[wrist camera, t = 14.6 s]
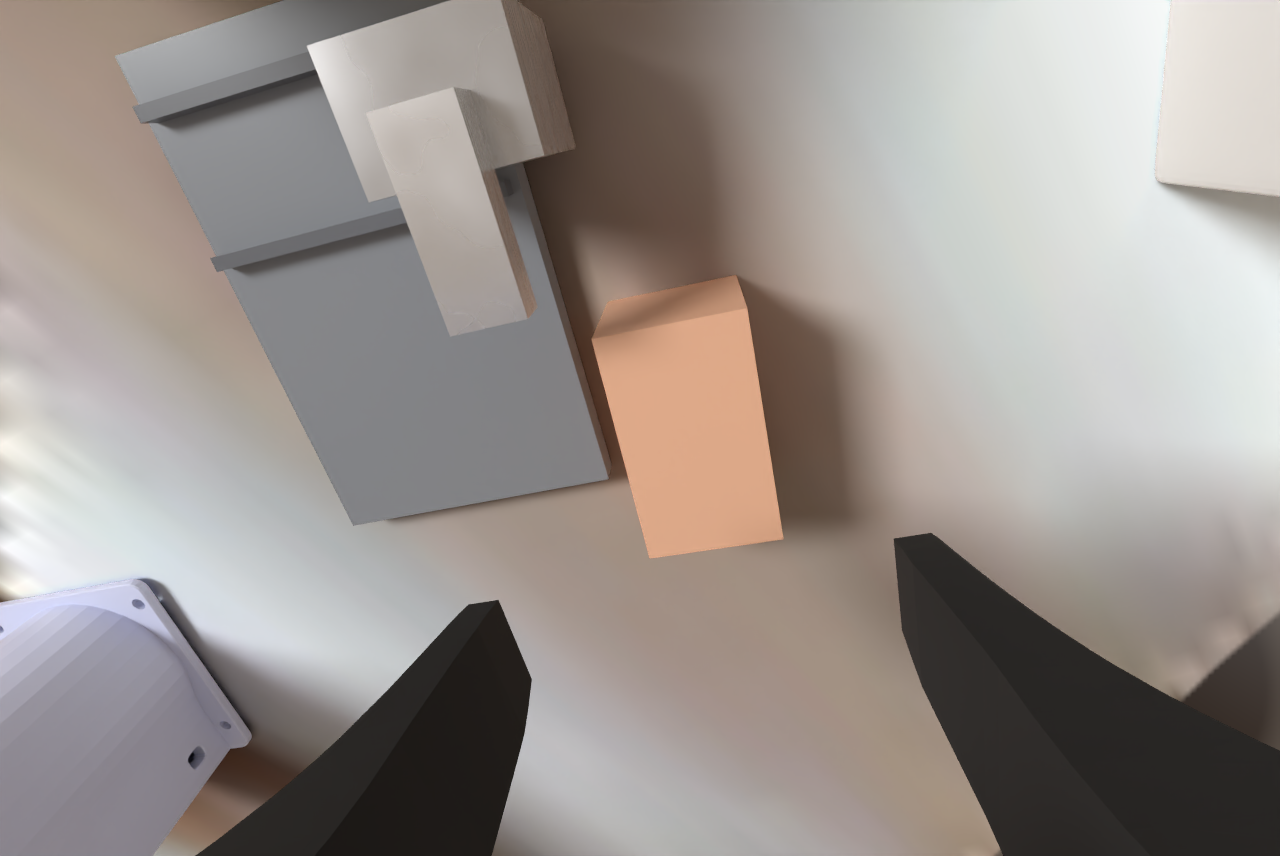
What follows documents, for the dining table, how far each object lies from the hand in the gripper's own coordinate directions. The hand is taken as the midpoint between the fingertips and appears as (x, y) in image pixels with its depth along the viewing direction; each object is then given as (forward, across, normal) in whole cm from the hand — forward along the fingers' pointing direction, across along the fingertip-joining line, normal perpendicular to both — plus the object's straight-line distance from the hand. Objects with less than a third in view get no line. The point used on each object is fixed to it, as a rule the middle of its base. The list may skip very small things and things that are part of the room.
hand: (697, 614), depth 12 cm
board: (+10, +8, -6) cm, 14 cm away
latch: (+9, +4, -8) cm, 13 cm away
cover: (+11, 0, 0) cm, 11 cm away
